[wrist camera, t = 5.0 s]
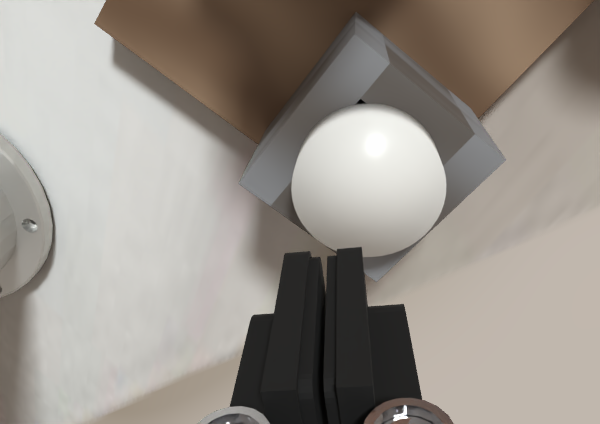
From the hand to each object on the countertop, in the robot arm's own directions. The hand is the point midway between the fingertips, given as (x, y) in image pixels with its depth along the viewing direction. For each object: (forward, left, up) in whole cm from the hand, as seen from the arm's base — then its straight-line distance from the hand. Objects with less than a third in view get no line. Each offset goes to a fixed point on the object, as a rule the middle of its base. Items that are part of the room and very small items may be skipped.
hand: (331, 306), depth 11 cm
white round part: (+1, -1, -12) cm, 11 cm away
